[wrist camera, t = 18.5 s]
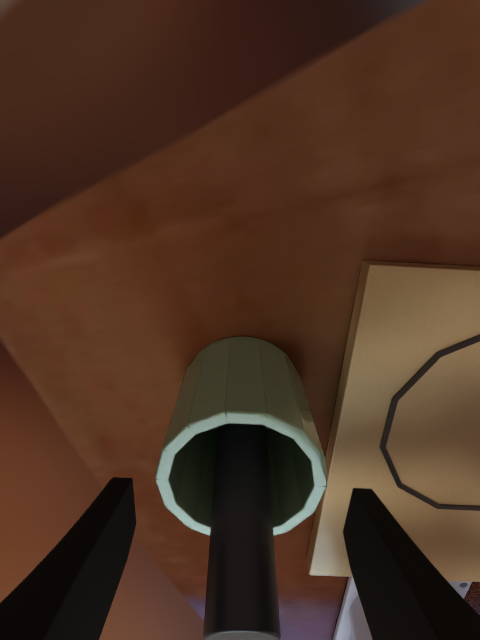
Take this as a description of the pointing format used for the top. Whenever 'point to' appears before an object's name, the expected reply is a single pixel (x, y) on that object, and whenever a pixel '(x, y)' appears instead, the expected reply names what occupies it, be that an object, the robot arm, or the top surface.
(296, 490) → the pen pot
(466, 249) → the top surface
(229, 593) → the marker
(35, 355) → the top surface
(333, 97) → the top surface
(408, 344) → the drawing board
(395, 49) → the top surface
